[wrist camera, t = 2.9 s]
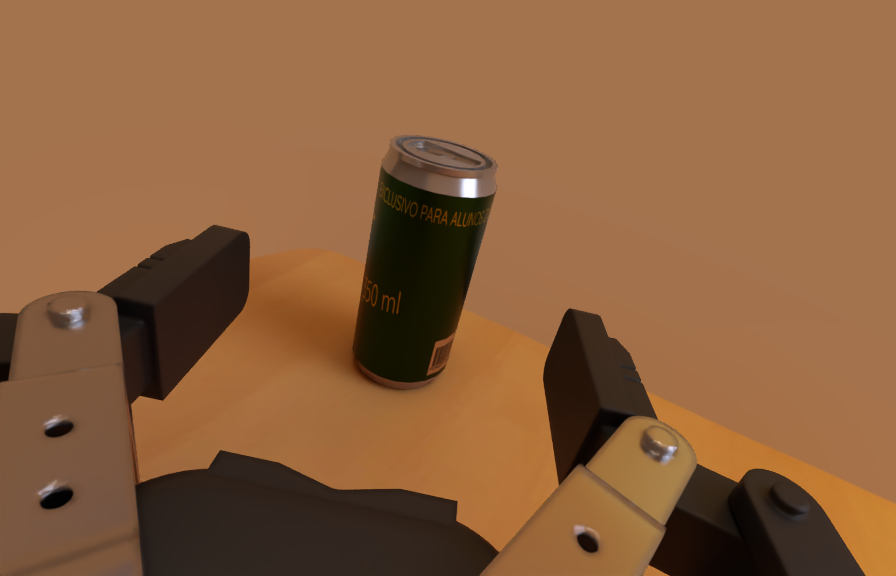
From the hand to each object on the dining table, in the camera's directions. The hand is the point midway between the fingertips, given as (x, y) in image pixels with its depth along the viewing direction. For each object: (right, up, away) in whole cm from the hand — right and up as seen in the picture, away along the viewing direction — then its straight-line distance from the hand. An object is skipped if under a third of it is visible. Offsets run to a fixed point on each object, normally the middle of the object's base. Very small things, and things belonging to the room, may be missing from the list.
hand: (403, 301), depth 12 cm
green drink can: (-2, -4, +15) cm, 16 cm away
